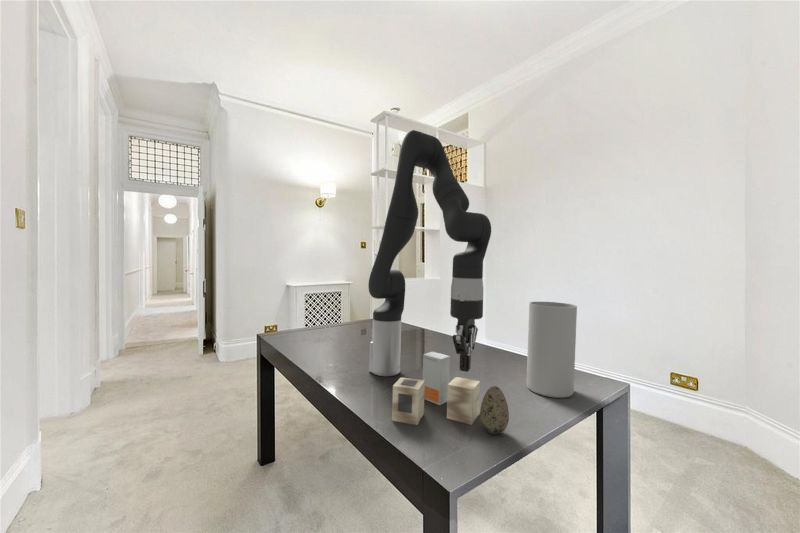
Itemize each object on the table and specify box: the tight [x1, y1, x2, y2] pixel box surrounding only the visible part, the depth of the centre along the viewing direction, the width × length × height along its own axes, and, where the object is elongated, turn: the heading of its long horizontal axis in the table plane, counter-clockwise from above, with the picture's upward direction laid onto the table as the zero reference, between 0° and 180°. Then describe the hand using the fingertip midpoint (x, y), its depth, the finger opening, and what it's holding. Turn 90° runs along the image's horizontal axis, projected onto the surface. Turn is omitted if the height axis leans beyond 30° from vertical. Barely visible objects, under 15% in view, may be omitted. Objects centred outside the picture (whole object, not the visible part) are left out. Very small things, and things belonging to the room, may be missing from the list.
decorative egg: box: [479, 385, 510, 435], centre depth 71 cm, size 6×6×10 cm
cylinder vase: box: [526, 301, 578, 399], centre depth 96 cm, size 12×12×25 cm
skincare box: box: [421, 351, 451, 406], centre depth 87 cm, size 6×4×12 cm
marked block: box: [391, 377, 425, 426], centre depth 77 cm, size 6×6×8 cm
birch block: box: [446, 376, 481, 426], centre depth 78 cm, size 6×6×8 cm
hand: (464, 370), depth 78 cm, fingers closed
